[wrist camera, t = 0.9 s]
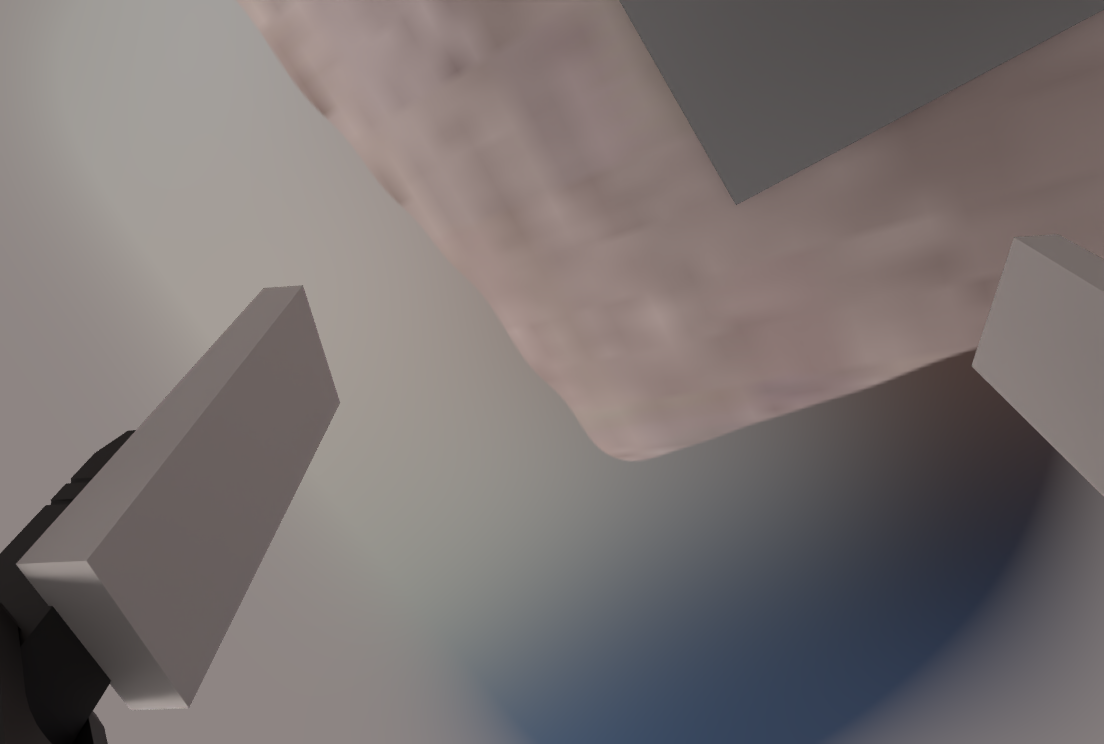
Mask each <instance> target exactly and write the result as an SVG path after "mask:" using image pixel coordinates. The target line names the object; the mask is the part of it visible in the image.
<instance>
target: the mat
mask: <svg viewBox="0 0 1104 744" xmlns="http://www.w3.org/2000/svg"><path fill="white" fill-rule="evenodd" d="M619 1H620V2H621V4H622V6H623V8H624V9H625V11H626V13H627V15H628V16H629V18H630V20H631V22H632V23H633V25H634V27H635V29H636V30H637V32H638V34H639V36H640V37H641V39H642V41H643V43H644V44H645V46H646V48H647V50H648V51H649V53H650V55H651V57H652V58H653V60H654V62H655V64H656V65H657V67H658V69H659V71H660V73H661V74H662V76H663V78H664V80H665V81H666V83H667V85H668V87H669V88H670V90H671V92H672V94H673V95H674V97H675V99H676V101H677V102H678V104H679V106H680V108H681V109H682V111H683V113H684V115H685V116H686V118H687V120H688V122H689V123H690V125H691V127H692V129H693V130H694V132H695V134H696V136H697V137H698V139H699V141H700V143H701V144H702V146H703V148H704V150H705V151H706V153H707V155H708V157H709V158H710V160H711V162H712V164H713V166H714V167H715V169H716V171H717V173H718V174H719V176H720V178H721V180H722V181H723V183H724V185H725V187H726V188H727V190H728V192H729V194H730V195H731V197H732V199H733V201H734V202H735V204H736V205H737V204H739V203H741V202H743V201H745V200H747V199H748V198H750V197H752V196H754V195H756V194H758V193H760V192H762V191H763V190H765V189H767V188H769V187H771V186H773V185H775V184H777V183H779V182H780V181H782V180H784V179H786V178H788V177H790V176H792V175H794V174H795V173H797V172H799V171H801V170H803V169H805V168H807V167H809V166H810V165H812V164H814V163H816V162H818V161H820V160H822V159H824V158H826V157H827V156H829V155H831V154H833V153H835V152H837V151H839V150H841V149H842V148H844V147H846V146H848V145H850V144H852V143H854V142H856V141H858V140H859V139H861V138H863V137H865V136H867V135H869V134H871V133H873V132H874V131H876V130H878V129H880V128H882V127H884V126H886V125H888V124H890V123H891V122H893V121H895V120H897V119H899V118H901V117H903V116H905V115H906V114H908V113H910V112H912V111H914V110H916V109H918V108H920V107H921V106H923V105H925V104H927V103H929V102H931V101H933V100H935V99H937V98H938V97H940V96H942V95H944V94H946V93H948V92H950V91H952V90H953V89H955V88H957V87H959V86H961V85H963V84H965V83H967V82H969V81H970V80H972V79H974V78H976V77H978V76H980V75H982V74H984V73H985V72H987V71H989V70H991V69H993V68H995V67H997V66H999V65H1001V64H1002V63H1004V62H1006V61H1008V60H1010V59H1012V58H1014V57H1016V56H1017V55H1019V54H1021V53H1023V52H1025V51H1027V50H1029V49H1031V48H1033V47H1034V46H1036V45H1038V44H1040V43H1042V42H1044V41H1046V40H1048V39H1049V38H1051V37H1053V36H1055V35H1057V34H1059V33H1061V32H1063V31H1064V30H1066V29H1068V28H1070V27H1072V26H1074V25H1076V24H1078V23H1080V22H1081V21H1083V20H1085V19H1087V18H1089V17H1091V16H1093V15H1095V14H1096V13H1098V12H1100V11H1102V10H1104V0H619Z"/></svg>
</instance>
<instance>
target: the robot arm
mask: <svg viewBox="0 0 1104 744" xmlns="http://www.w3.org/2000/svg"><path fill="white" fill-rule="evenodd" d="M972 367H973V368H974V369H975V370H976V371H977V372H978V373H979V374H980V375H981V376H982V377H983V378H984V379H985V380H986V381H987V382H988V383H989V384H990V385H992V387H993V388H994V389H995V390H996V391H997V392H998V393H999V394H1001V395H1002V396H1003V397H1004V398H1005V400H1007V401H1008V402H1009V403H1010V404H1011V405H1012V406H1013V407H1014V408H1015V409H1016V410H1017V411H1018V412H1019V413H1020V414H1021V415H1022V416H1023V417H1024V418H1025V419H1026V420H1027V421H1028V422H1029V423H1030V424H1031V425H1032V426H1033V427H1034V428H1035V429H1036V430H1037V431H1038V432H1039V433H1040V434H1041V435H1042V436H1043V437H1044V438H1045V439H1046V440H1047V441H1048V442H1049V443H1050V444H1051V445H1052V446H1053V447H1054V448H1055V449H1056V450H1057V451H1058V452H1059V453H1060V454H1061V455H1062V456H1063V457H1064V458H1065V459H1066V460H1067V461H1068V462H1069V463H1070V464H1071V465H1072V466H1073V467H1074V468H1075V469H1076V470H1077V471H1078V472H1079V473H1080V474H1081V475H1082V476H1083V477H1084V478H1085V479H1086V480H1087V481H1089V483H1090V484H1091V485H1092V486H1093V487H1094V488H1096V489H1097V490H1098V491H1099V492H1100V493H1101V494H1102V495H1103V496H1104V259H1102V258H1100V257H1099V256H1097V255H1095V254H1093V253H1091V252H1089V251H1088V250H1086V249H1084V248H1082V247H1080V246H1079V245H1077V244H1075V243H1073V242H1071V241H1070V240H1068V239H1066V238H1064V237H1062V236H1061V235H1059V234H1054V235H1039V236H1024V237H1014V239H1013V242H1012V245H1011V248H1010V251H1009V254H1008V257H1007V260H1006V263H1005V266H1004V269H1003V272H1002V275H1001V278H1000V282H999V285H998V288H997V291H996V294H995V297H994V300H993V303H992V306H991V309H990V312H989V315H988V318H987V321H986V324H985V327H984V330H983V333H982V336H981V339H980V342H979V345H978V348H977V351H976V354H975V357H974V360H973V363H972ZM339 404H340V401H339V398H338V395H337V392H336V388H335V386H334V382H333V379H332V376H331V373H330V370H329V366H328V363H327V360H326V357H325V354H324V350H323V348H322V344H321V341H320V338H319V335H318V332H317V328H316V325H315V322H314V319H313V316H312V313H311V309H310V307H309V303H308V300H307V297H306V294H305V291H304V288H303V285H302V286H287V287H273V288H263V290H262V291H261V292H260V293H259V294H258V295H257V296H256V298H255V299H254V300H253V301H252V302H251V303H250V304H249V305H248V306H247V307H246V309H245V310H244V311H243V312H242V313H241V314H240V315H239V316H238V317H237V318H236V320H235V321H234V322H233V323H232V324H231V325H230V326H229V327H228V329H227V330H226V331H225V332H224V333H223V334H222V335H221V336H220V337H219V339H218V340H217V341H216V342H215V343H214V344H213V345H212V346H211V347H210V348H209V350H208V351H207V352H206V353H205V354H204V355H203V356H202V357H201V359H200V360H199V361H198V362H197V363H196V364H195V365H194V366H193V367H192V369H191V370H190V371H189V372H188V373H187V374H186V375H185V377H183V379H182V380H181V381H180V382H179V383H178V384H177V385H176V386H175V387H174V389H173V390H172V391H171V392H170V393H169V394H168V395H167V396H166V397H165V399H164V400H163V401H162V402H161V403H160V404H159V405H158V406H157V407H156V409H155V410H154V411H153V412H152V413H151V414H150V416H148V417H147V419H146V420H145V421H144V422H143V423H142V424H141V425H140V426H139V428H138V429H137V430H133V431H127V432H125V433H124V434H122V435H121V436H120V437H118V438H117V439H115V440H114V441H112V442H111V443H109V444H108V445H106V446H105V447H103V448H102V449H100V450H99V451H97V452H96V453H95V454H94V455H93V456H92V457H91V458H90V459H89V460H88V461H87V462H86V463H85V464H84V465H83V466H82V467H81V468H80V470H79V471H78V472H77V473H76V474H75V475H74V476H73V477H72V478H71V483H70V484H65V486H63V487H62V489H61V490H60V491H59V492H58V493H57V494H56V495H55V496H54V497H53V498H52V499H51V505H46V506H45V507H44V508H43V509H42V510H41V511H40V512H39V513H38V514H37V515H36V516H35V517H34V518H33V519H32V520H31V522H30V523H29V524H28V525H27V526H26V527H25V528H24V529H23V530H22V531H21V532H20V533H19V534H18V535H17V536H16V537H15V539H14V540H13V541H12V542H11V543H10V544H9V545H8V546H7V547H6V548H5V549H4V550H3V551H2V552H1V554H0V744H108V743H107V739H106V734H105V729H104V726H103V725H102V723H101V722H100V720H99V719H98V717H97V715H96V714H95V713H94V712H93V709H94V708H95V706H96V705H97V703H98V701H99V700H100V698H101V697H102V695H103V693H104V692H105V690H106V689H107V687H108V685H109V684H111V686H112V687H113V688H114V689H115V691H116V692H117V693H118V694H119V696H120V697H121V698H122V699H123V701H124V702H125V703H126V705H127V706H128V707H129V708H130V710H147V709H176V708H189V707H190V705H191V703H192V701H193V699H194V697H195V695H196V693H197V691H198V689H199V687H200V685H201V683H202V681H203V678H204V676H205V674H206V673H207V670H208V669H209V666H210V664H211V662H212V660H213V658H214V656H215V654H216V652H217V650H218V648H219V646H220V644H221V642H222V640H223V638H224V636H225V634H226V632H227V630H228V628H229V626H230V624H231V622H232V620H233V618H234V616H235V614H236V612H237V610H238V608H239V606H240V604H241V602H242V600H243V598H244V596H245V594H246V592H247V590H248V588H249V585H250V584H251V582H252V580H253V577H254V576H255V574H256V571H257V569H258V567H259V565H260V563H261V561H262V559H263V557H264V555H265V553H266V551H267V549H268V547H269V545H270V543H271V541H272V539H273V537H274V535H275V533H276V531H277V529H278V527H279V525H280V523H281V521H282V519H283V517H284V515H285V513H286V511H287V509H288V507H289V505H290V503H291V500H292V499H293V497H294V495H295V493H296V491H297V489H298V487H299V485H300V483H301V481H302V479H303V477H304V474H305V472H306V470H307V468H308V466H309V464H310V462H311V460H312V458H313V456H314V454H315V452H316V450H317V448H318V446H319V444H320V442H321V440H322V438H323V436H324V434H325V432H326V430H327V428H328V426H329V424H330V422H331V420H332V418H333V416H334V414H335V412H336V410H337V408H338V406H339Z"/></svg>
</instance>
